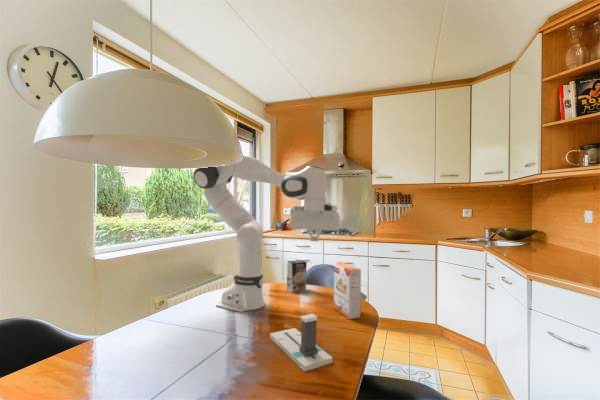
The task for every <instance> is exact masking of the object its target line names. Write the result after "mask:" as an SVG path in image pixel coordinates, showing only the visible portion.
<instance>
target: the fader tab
mask: <svg viewBox="0 0 600 400" xmlns="http://www.w3.org/2000/svg"><path fill="white" fill-rule="evenodd" d="M300 321H301V327H300V330H301V332H300V333H301V347H299V351H300V352H301V353H302V354H303V355H304V356H305V357H307V356H310V355H314V354H317V353H318V349H317V348H316V345H317V321H318V316H317V315H315V314H314V313H309V314H304V315H300Z"/></svg>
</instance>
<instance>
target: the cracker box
mask: <svg viewBox="0 0 600 400" xmlns="http://www.w3.org/2000/svg"><path fill="white" fill-rule="evenodd" d="M361 271H362V270H361V269H360V268H359V267H356V266H353V265H351V264H348V263H345V262H339V263H337V262H336V263H334V264H333V309H335V310H336V311H337V312H338V313H340V315H341V314H342V315H343V316H344V317H345V318H346V319H348V320H355V319H360V318H361V311H362V310H361V306H362V305H361V302H362V299H361V296H362V295H361V294H362V293H361V291H362V289H361V285H362V283H361V281H362V278H361V277H362V272H361Z"/></svg>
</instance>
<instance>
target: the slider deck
mask: <svg viewBox="0 0 600 400" xmlns="http://www.w3.org/2000/svg"><path fill="white" fill-rule="evenodd" d="M269 339H271V341H272V342H274V344H276V345H277V347H279V348H280V349H281V350H282V351H283V352H284V353H285V355H286V356H287V357H289V358H290V359H291V361H293V362H294V364H296V365H297V366H298V367H299V368H300V369H301V370H302V371H303V372H307V371H311V370H314V369H318V368H320V367H323V366H326V365H330V364H333V362H334V361H333V359H334V357H333V356H331V355H330V354H329V353H327V352H326V351H325V350H323V348H321V347H319V345H317V344H316V348H317V349H318V353H317V354H314V355H310V356H307V357H305V356H304V355H303V354H302V353H301V352H300V351H299V347H301V332H300V331H299V330H298V329H297V328H296V327H293V328H292V327H291V328H288V329H284V330H278V331H275V332H271V333H269Z"/></svg>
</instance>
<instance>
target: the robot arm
mask: <svg viewBox="0 0 600 400" xmlns="http://www.w3.org/2000/svg"><path fill="white" fill-rule="evenodd" d="M234 177H236V178H237V179H240V180H245V181H248V182H255V183H265V184H270V185H273V186H276V187H278V188H281V192H282V193H283V194H284V195H285V197H287V198H291V199H297V200H301V201H303V206H298V205H297V206H293V207H291V209H290V211H289V212H290V213H289V215H290V223H289V227H290V229H292V230H307V233H308V235H309V237H310V242H319V241H320V236H321V234H322V232H323V231H339V230H340V229H341V219H340V217H341V216H340V214H339V212H337V211H338V206H337V205H334V204H331V203H330V202H327V197H326V196H327V195H326V190H327V176H326V171H325V170H324V169H323V168H322V167H319V166H315V165H314V166H313V165H307V166H306V167H305V168H303V169H302V170H300V171H297V172H295V173H292V174H289V175H287V174H285V173H282V172H279V171H277V170H275V169H273V168H271V167H269V165H267V164H265V163H264V162H263V161H260V160H259V159H258V158H256V157H254V156H252V155H250V154H248V153H246V152H243V159H242V160H241V161H239V162H237V163H234V164H230V165H225V166H218V167H208V168H198V167H197V168H196V169H195V170H194V172H193V181H194V183H195V184H196V185H197V186H198V187H199V188H200V189H202V190H204V191H203V195H204V197H205V199H206V201H207V203H208V204H209V205H210V207H211V208H212V209H213V211H214V212H215V213H217V215H218V216H219V217H220V219H222V220H223V222H224V223H225V224H226V225H227V226H229V228H231V229H232V230H233V231H234V233H236V247H237V258H238V263H237V264H238V265H237V268H238V269H237V271H238V272H237V274H236V275H234V276H233V277H232V280H234V282H233V283H232V284H231V285H229V286H228V287H227V288H225V289H224V290H223V292H222V295H221V299H219V300H218V301H217V302H216V305H215V306H216V307H218V308H222V309H227V310H230V311H236V312H242V313H243V312H246V311H253V310H258V309H261V308H263V307H264V306H266V305H265V304H266V303H265V299H264V294H263V293H264V292H263V286H264V285H263V284H264V279H263V278H264V277H263V275H264V274H263V253H262V239H263V236H264V229H263V226H262V225H261V224H260V223H259V222H258V221H257V219H256V218H254V217H253V216H252V214H251V213H249V211H248V210H247V209H245V207H244V206H243V205H242V204H241V203H240V201H239V200H238V199H237V198H236V197H235V196H234V195H233V194H232V192H231V191H230V190H229V189H228V187H227V184H230V183H231V181H232V179H233V178H234ZM313 231H316V232H317V234H316V236H314V235H313Z"/></svg>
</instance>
